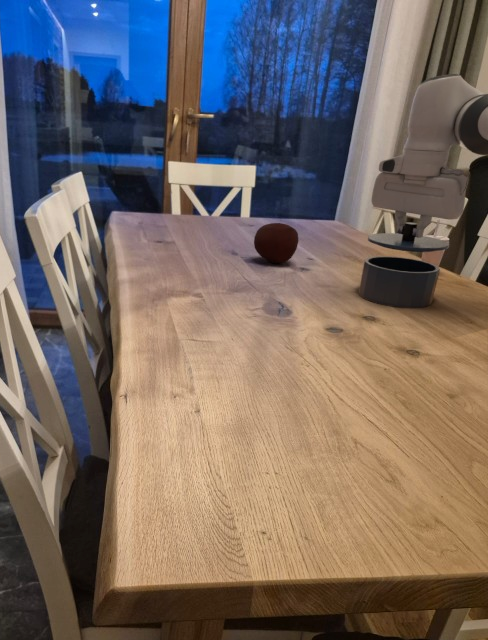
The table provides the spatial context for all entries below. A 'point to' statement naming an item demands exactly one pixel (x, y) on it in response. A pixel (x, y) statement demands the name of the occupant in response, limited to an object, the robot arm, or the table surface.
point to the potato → (276, 242)
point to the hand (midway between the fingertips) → (408, 235)
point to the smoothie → (435, 255)
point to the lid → (408, 241)
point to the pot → (398, 281)
